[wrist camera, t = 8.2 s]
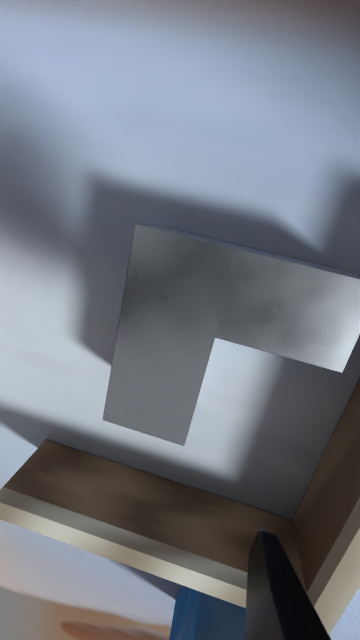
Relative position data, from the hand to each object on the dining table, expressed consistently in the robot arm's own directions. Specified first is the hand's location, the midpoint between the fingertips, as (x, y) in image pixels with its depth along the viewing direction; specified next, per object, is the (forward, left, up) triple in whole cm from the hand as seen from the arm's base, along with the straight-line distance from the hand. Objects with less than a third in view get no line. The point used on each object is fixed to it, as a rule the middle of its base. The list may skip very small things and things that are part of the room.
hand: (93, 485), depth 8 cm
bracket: (-3, -2, -9) cm, 10 cm away
